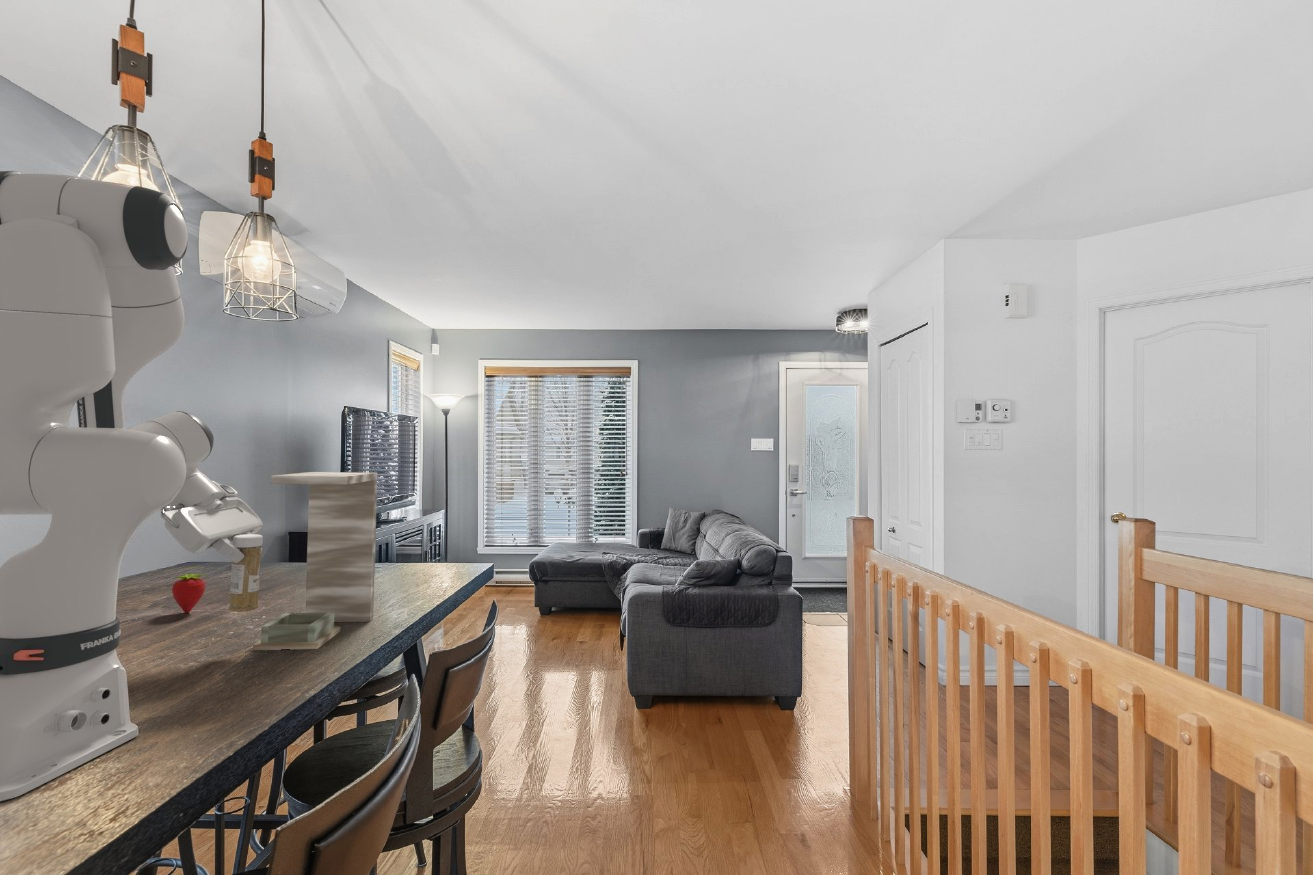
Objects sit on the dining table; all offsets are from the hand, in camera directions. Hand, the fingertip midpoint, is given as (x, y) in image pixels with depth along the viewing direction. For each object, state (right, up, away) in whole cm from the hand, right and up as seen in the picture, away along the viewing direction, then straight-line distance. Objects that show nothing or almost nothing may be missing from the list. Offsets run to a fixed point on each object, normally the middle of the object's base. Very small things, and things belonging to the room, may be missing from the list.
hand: (250, 556), depth 113 cm
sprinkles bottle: (-1, -10, 0) cm, 10 cm away
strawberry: (-29, -17, +23) cm, 41 cm away
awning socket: (+7, -17, +10) cm, 21 cm away
